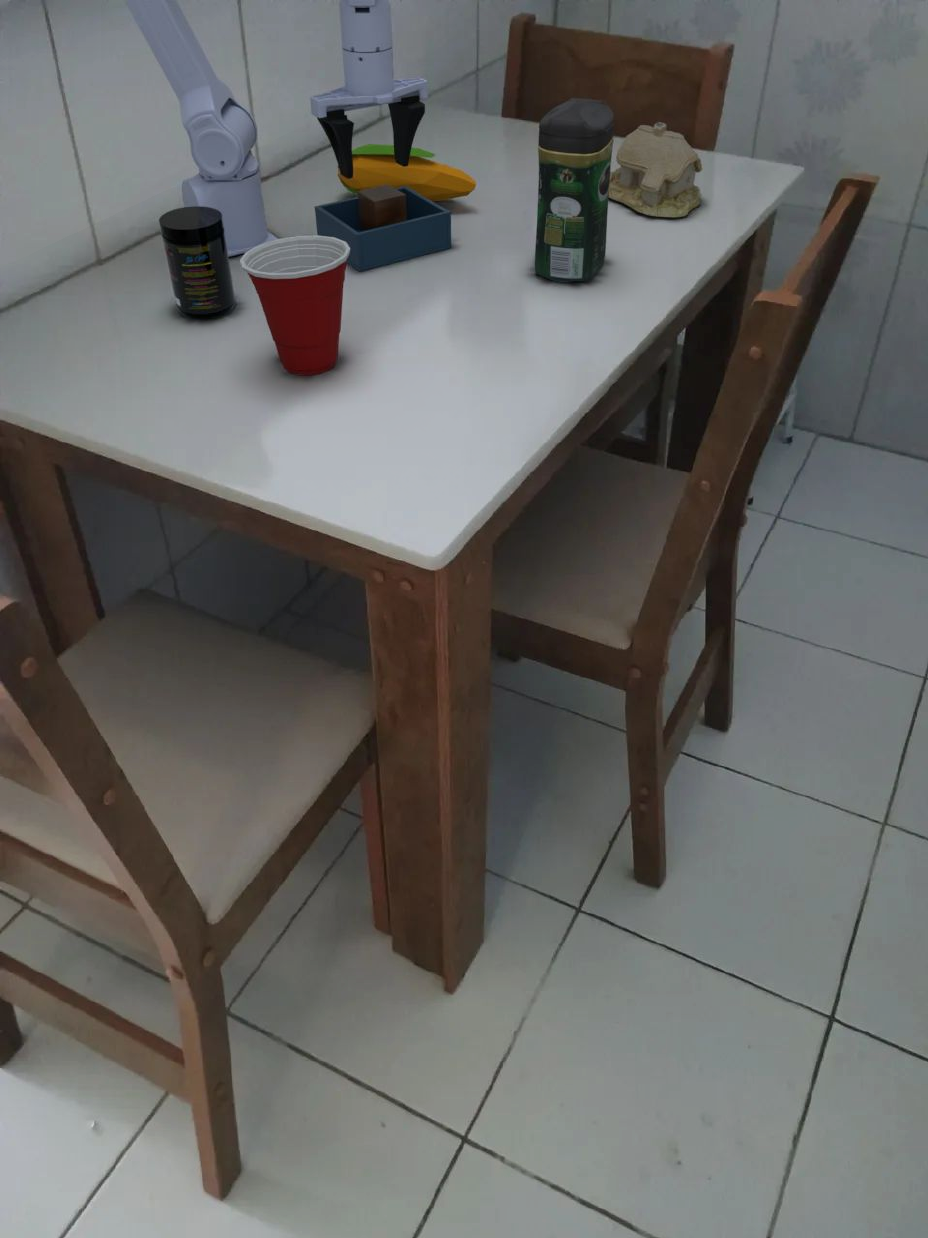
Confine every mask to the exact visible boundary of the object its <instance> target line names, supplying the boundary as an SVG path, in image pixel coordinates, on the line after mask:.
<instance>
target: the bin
mask: <svg viewBox="0 0 928 1238" xmlns="http://www.w3.org/2000/svg"><path fill="white" fill-rule="evenodd" d="M395 189H397V190H399V191H400V192H402V193H404V194H405V195H406V211H407V221H404V222H400V223H396V224H392V225H387V226H383V227H379V228H375V229H371V230H367V231H363V232H361V228H360V214H359V201H358V196H354V197H350V198H346V199H342V200H337V201H333V202H329V203H328V202H327V203H324V204H320V205H315V206H314V214H315V215H314V216H315V224H316V231H317V232H316V233H317V234H316V235H318V236H327V237H335V238H337V239H340V240H342V241H345V242H346V243H347V244H348V246H349V247H350V254H349V256H348V258H347V262H346V264H348V265H350V267H352V268H354V270H356V271H358V272H363V271H367V270H371V269H374V268H379V267H383V266H387V265H390V264H395V263H399V262H402V261H406V260H410V259H413V258H418V257H420V256H424V255H428V254H433V253H436V252H441V251H444V250H448V249H451V248H452V212H451V211H449V210H448V209H446V208H445V207H443V206H441V205H440V204H438V203H436V202H435V201H431V200H429V199H427V198H426V197H424V196H422V195H420V194H419V193H417V192H415V191H414V190H412V189H410V188H408V187H407V186H403V187H398V188H395Z"/></svg>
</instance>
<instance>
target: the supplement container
mask: <svg viewBox="0 0 928 1238" xmlns="http://www.w3.org/2000/svg"><path fill="white" fill-rule="evenodd" d="M158 223H159V227H160V228H159V229H160V232H161V233H160V235H161V238H162V241H163V247H164V251H165V256H166V261H167V266H168V271H169V272H168V273H169V276H170V281H171V286H172V292H173V296H174V302H175V307H176V309H177V310H178V312H179V314H181V315H182V316H183V317H185V318H188V319H191V320H197V321H204V320H205V321H207V320H214V319H217V318H221V317H223V316H226V315H228V314H229V313H230V312H231V311H232V310H233V309H234V307H235V304H236V296H235V290H234V283H233V278H232V272H231V265H230V257H228V251H227V245H226V239H225V233H224V231H225V229H224V225H223V218H222V214H221V212H220V211H218V210H216V209H214V208H210V207H202V206H193V207H179V208H174V209H172V210H169V211H166V212H165V213H163V214H162V215H161V216H160V217H159V219H158Z"/></svg>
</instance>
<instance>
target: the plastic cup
mask: <svg viewBox="0 0 928 1238" xmlns="http://www.w3.org/2000/svg"><path fill="white" fill-rule="evenodd" d="M349 254H350V247H349V246H348V244H347V243H346V242H345V241H342V240H340V239H337V238H335V237H327V236H318V235H317V234H316V235H315V234H314V235H296V236H295V235H294V236H290V237H284V238H278V239H277V240H274V241H271V242H267V243H264V244H261V245H258V246H256V247H254V248H253V249H251V250H249V251H247V252H246V253H243V254H242V256H241V258H240V259H239V262H240V265H241V267H242V269H243V271H244V272H245V273H247V275H248V277H249V278H250V280H251V283H252V285H253V286H254V289H255V291H256V294H257V296H258V299H259V302H260V305H261V307H262V311H263V314H264V316H265V320H266V323H267V327H268V329H269V332H270V335H271V339H272V340H273V342H274V345H275V348H276V351H277V354H278V357H279V361H280V364H281V365H282V366H283V369H284V370H285V371H287V372H288V373H289V374H294V375H297V376H313V375H320V374H323V373H325V372H328V371H330V370H331V369H332V368H334V367H335V366H336V363H337V360H338V356H339V346H340V333H341V330H342V329H341V328H342V326H341V325H342V313H343V298H344V283H345V279H346V278H345V277H346V269H347V258H348V256H349Z"/></svg>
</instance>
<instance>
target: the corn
mask: <svg viewBox="0 0 928 1238" xmlns="http://www.w3.org/2000/svg"><path fill="white" fill-rule="evenodd" d="M435 156H436V153H433V152H431V151H427V150H425V149H422V148H418V147H413V146H412V147H411V152H410V157H409V163H408V166H406V167H403V166H401V165H399V164H398V163H396V162H395V156H394V144H378V143H367V144H364V145H361V146H358V147H356V148H354V149H352V159H353V178H349V179H347V178H346V177H344V176H342V175H341V174H340V170H339V166H338V165H337V177H338V179H339V181H340V183H341V184H342V186H343V187H344V188H345V189H346V190H347V191H348V192H351V194H354V195H356V197H358V191H361V190H366V189H370V188H375V187H379V186H383V185H390V186H392V187H394V188H398V187H403V186H407V187H408V188H410V189H412V190H414V191H415V192H417V193H419V194H420V195H422V196H424V197H426V198H427V199H429V200H431V201H432V202H443V201H447V200H452V199H457V198H462V197H467V196H469V195H470V194H471V193H472V192H473V191H475V189H476V187H477V182H476V181H475V179H473V177H471V176H470V175H469V174H467V173H466V172H464V171H463V170H461V169H459V168H457V167H453V166H450V165H446V164H444V163H441V162H437V161H434V160H431V158H434V157H435ZM428 158H430V159H428Z"/></svg>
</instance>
